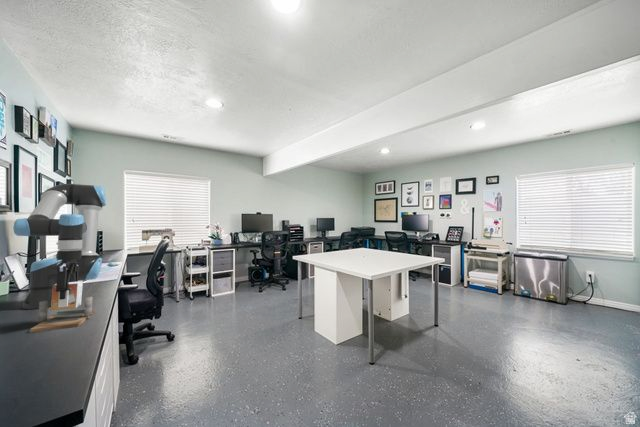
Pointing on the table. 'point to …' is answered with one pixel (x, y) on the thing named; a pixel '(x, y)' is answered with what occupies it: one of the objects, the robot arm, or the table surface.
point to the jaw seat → (62, 317)
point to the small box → (73, 296)
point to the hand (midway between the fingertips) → (66, 304)
